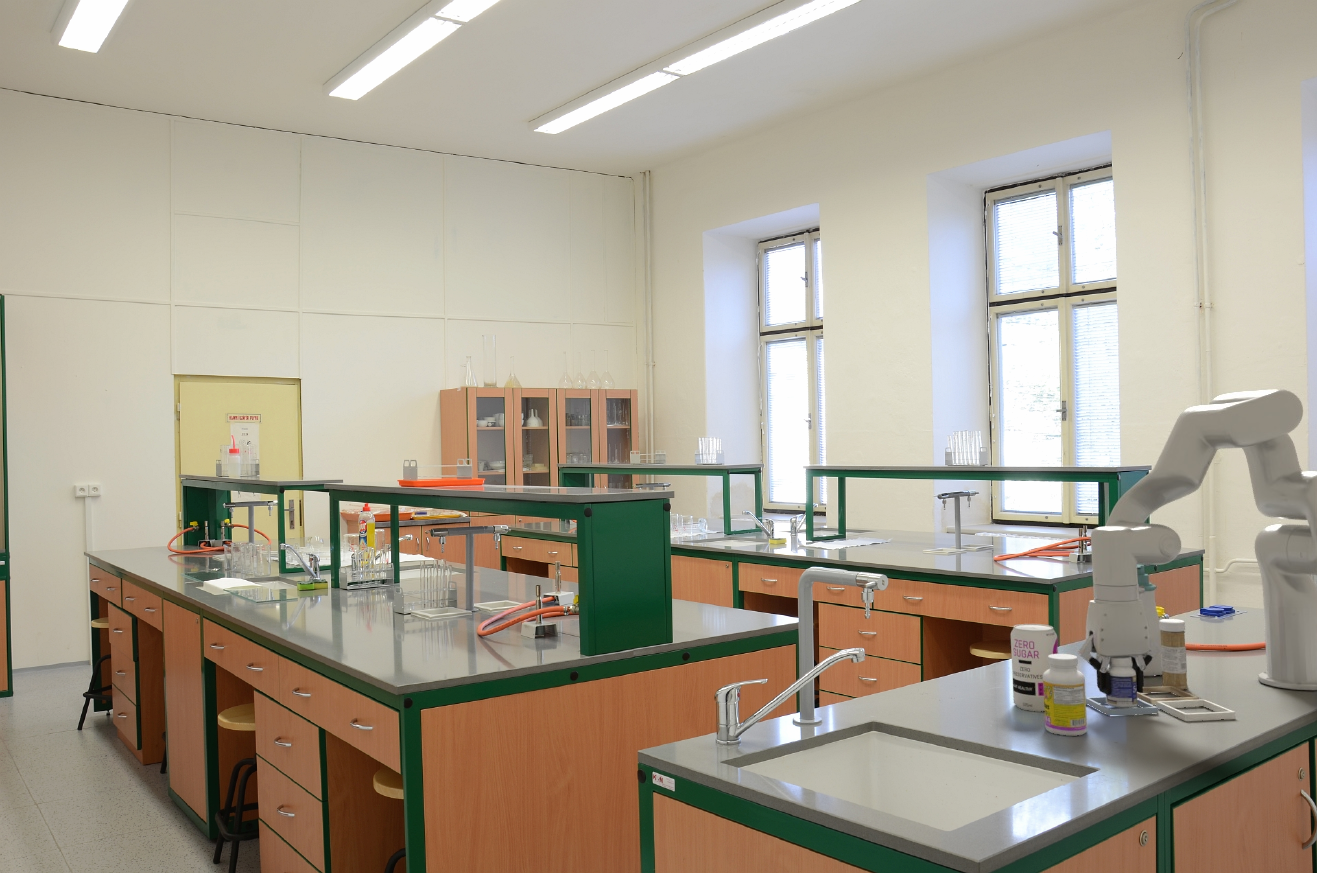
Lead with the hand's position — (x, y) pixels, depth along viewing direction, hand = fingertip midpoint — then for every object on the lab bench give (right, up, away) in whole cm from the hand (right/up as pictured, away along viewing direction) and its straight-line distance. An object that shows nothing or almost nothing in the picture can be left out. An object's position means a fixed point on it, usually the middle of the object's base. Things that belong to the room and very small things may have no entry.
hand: (1120, 691), depth 177 cm
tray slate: (0, -3, 0) cm, 3 cm away
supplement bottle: (-16, -4, -13) cm, 20 cm away
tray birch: (+11, -3, +6) cm, 13 cm away
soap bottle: (+18, -4, +28) cm, 33 cm away
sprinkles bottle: (+17, -3, +14) cm, 22 cm away
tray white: (+11, -3, -5) cm, 12 cm away
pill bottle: (0, -3, 0) cm, 3 cm away
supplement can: (-14, -4, +3) cm, 15 cm away
